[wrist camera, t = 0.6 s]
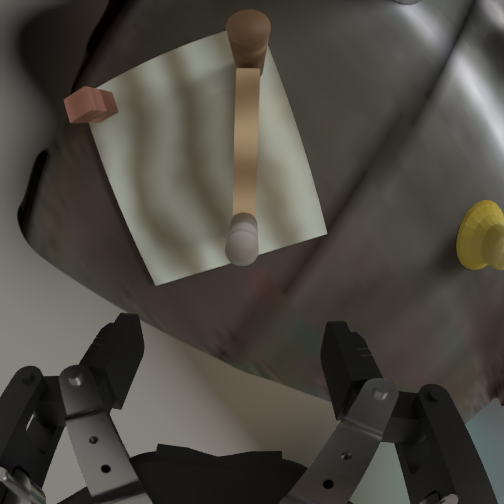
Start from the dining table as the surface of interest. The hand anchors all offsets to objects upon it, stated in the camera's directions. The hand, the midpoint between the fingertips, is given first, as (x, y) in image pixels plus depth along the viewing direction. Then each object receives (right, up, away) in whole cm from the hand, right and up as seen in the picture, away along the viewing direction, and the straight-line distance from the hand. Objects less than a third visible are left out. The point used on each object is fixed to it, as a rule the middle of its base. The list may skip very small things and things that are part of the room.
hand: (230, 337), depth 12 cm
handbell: (+39, +6, +26) cm, 47 cm away
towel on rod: (-5, +15, +22) cm, 27 cm away
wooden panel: (0, +14, +21) cm, 25 cm away
